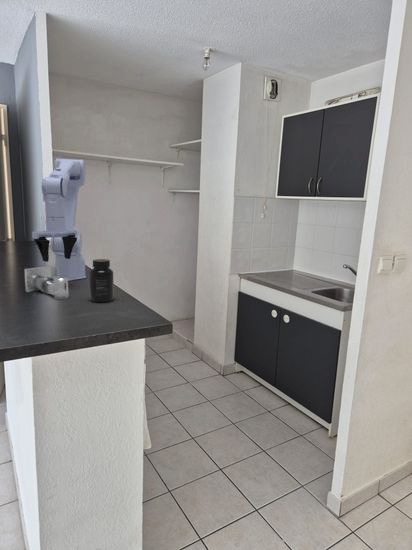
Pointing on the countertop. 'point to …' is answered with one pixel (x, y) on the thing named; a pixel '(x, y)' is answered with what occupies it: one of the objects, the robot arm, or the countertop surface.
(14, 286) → the countertop surface
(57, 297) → the elbow
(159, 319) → the countertop surface
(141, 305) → the countertop surface
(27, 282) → the duct stub
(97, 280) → the supplement bottle
